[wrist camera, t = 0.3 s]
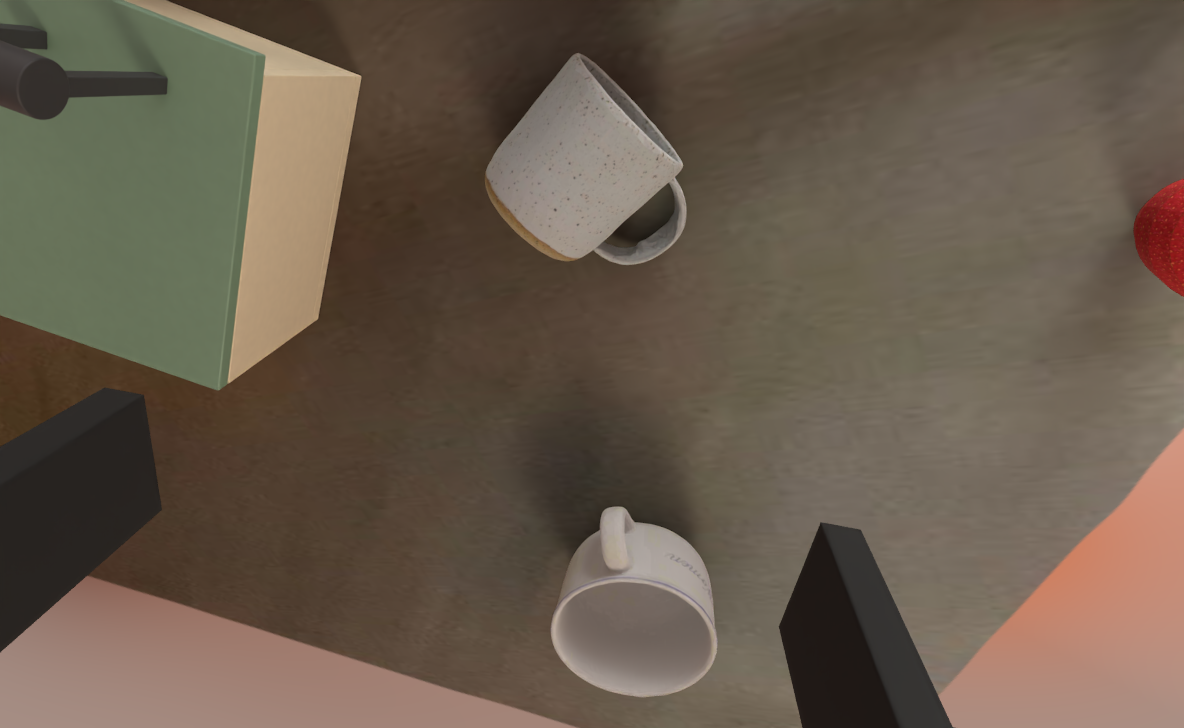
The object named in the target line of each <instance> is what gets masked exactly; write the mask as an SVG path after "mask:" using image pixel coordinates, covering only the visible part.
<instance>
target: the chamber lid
mask: <svg viewBox="0 0 1184 728" xmlns="http://www.w3.org/2000/svg"><path fill="white" fill-rule="evenodd" d="M265 59H266V56H265V55H264V54H262V53H259V52H257V51H254V50H251V49H249V48H246V47H244V46H241V45H238V44H236V43H233V42H231V41H228V40H225V39H223V38H220V37H218V36H215V35H212V34H210V33H207V32H205V31H202V30H199V29H197V28H194V27H192V26H189V25H186V24H184V23H181V22H179V21H176V20H173V19H171V18H168V17H166V16H163V15H161V14H158V13H155V12H153V11H150V10H148V9H145V8H142V7H140V6H137V5H135V4H132V3H129V2H127V1H124V0H0V315H1V316H4V317H7V318H10V319H13V320H16V321H19V322H22V323H24V324H27V325H30V326H33V327H36V328H39V329H42V330H45V331H47V332H50V333H53V334H56V335H59V336H62V337H65V338H68V339H71V340H73V341H76V342H79V343H82V344H85V345H88V346H91V347H94V348H97V349H99V350H102V351H105V352H108V353H111V354H114V355H117V356H120V357H123V358H125V359H128V360H131V361H134V362H137V363H140V364H143V365H146V366H149V367H151V368H154V369H157V370H160V371H163V372H166V373H169V374H172V375H174V376H177V377H180V378H183V379H186V380H189V381H192V382H195V383H198V384H200V385H203V386H206V387H209V388H212V389H215V390H220V389H221V388H223V387H224V386H225V385H227V382H228V373H229V365H230V356H231V348H232V339H233V331H234V322H235V314H236V305H237V297H238V288H239V280H240V271H241V263H242V254H243V246H244V237H245V229H246V220H247V212H248V203H249V195H250V186H251V178H252V169H253V161H254V152H255V144H256V135H257V127H258V118H259V110H260V101H261V93H262V84H263V76H264V67H265Z"/></svg>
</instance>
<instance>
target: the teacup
mask: <svg viewBox="0 0 1184 728" xmlns="http://www.w3.org/2000/svg"><path fill="white" fill-rule="evenodd" d="M551 638H552V642H553V645H554V648H555V650H556V652H557V654H558V655H559V657H560V658H561V660H562V661H563V662H564V663H565V664H566V666H567V667H568V668H569V669H570V670H571V671H573V672H574V673H575V674H576V675H577V676H579V677H580V678H582V679H583V680H585V681H587V682H589V683H590V684H592V685H595V686H597V687H599V688H602V689H605V690H607V691H611V692H615V693H619V694H623V695H632V696H637V697H647V696H658V695H667V694H670V693H674V692H678V691H681V690H683V689H685V688H687V687H689V686H691V685H693V684H694V683H696V682H697V681H698V680H699V679H700V678H702V677H703V676H704V675H705V674H706V672H707V671H708V670H709V669H710V667H711V665H712V664H713V662H714V659H715V657H716V652H717V644H718V643H717V633H716V630H715V627H714V610H713V599H712V591H711V584H710V579H709V576H708V572H707V570H706V567H705V565H704V563H703V561H702V559H701V557H700V556H699V554H698V553H697V551H696V550H695V549H694V548H693V547H692V546H691V545H690V544H689V543H688V542H687V541H686V540H685V539H683V538H682V537H680V536H679V535H677V534H676V533H674V532H672V531H670V530H668V529H666V528H663V527H660V526H656V525H653V524H647V523H639V522H634V521H633V520H632V519H631V517H630V515H629V513H628V511H627V510H626V509H625V508H623V507H610V508H607V509H605V510H604V511H603V512H602V515H601V519H600V530H599V531H597V532H596V533H594V534H592V535H591V536H589V537H588V538H587V539H586V540H585V541H584V542H583V543H582V544H581V545H580V546H579V547H578V549H577V550H576V552H575V553H574V555H573V557H572V559H571V561H570V564H569V566H568V569H567V572H566V575H565V578H564V581H563V585H562V588H561V592H560V596H559V600H558V605H557V607H556V609H555V611H554V613H553V616H552V623H551Z"/></svg>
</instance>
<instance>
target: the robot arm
mask: <svg viewBox="0 0 1184 728" xmlns="http://www.w3.org/2000/svg"><path fill="white" fill-rule="evenodd" d="M161 510H162V508H161V501H160V495H159V489H158V482H157V476H156V469H155V463H154V457H153V450H152V444H151V438H150V431H149V425H148V418H147V412H146V406H145V399H144V395H141V394H136V393H131V392H125V391H120V390H115V389H109V388H103V389H101V390H100V391H98V392H96V393H94V394H93V395H91V396H89V397H87V398H86V399H84V400H82V401H80V402H78V403H77V404H75V405H73V406H71V407H70V408H68V409H66V410H64V411H63V412H61V413H59V414H57V415H56V416H54V417H52V418H50V419H49V420H47V421H45V422H43V423H41V424H40V425H38V426H36V427H34V428H33V429H31V430H29V431H27V432H26V433H24V434H22V435H20V436H19V437H17V438H15V439H13V440H11V441H10V442H8V443H6V444H4V445H3V446H1V447H0V652H1V651H2V650H3V649H4V648H6V647H7V646H8V645H9V644H10V643H11V642H12V641H14V640H15V639H16V638H17V637H18V636H19V635H20V634H22V633H23V632H24V631H25V630H26V629H27V628H28V627H29V626H31V625H32V624H33V623H34V622H35V621H36V620H37V619H39V618H40V617H41V616H42V615H43V614H44V613H45V612H46V611H48V610H49V609H50V608H51V607H52V606H53V605H54V604H55V603H56V602H58V601H59V600H60V599H61V598H62V597H63V596H65V595H66V594H67V593H68V592H69V591H70V590H71V589H72V588H74V587H75V586H76V585H77V584H78V583H79V582H80V581H82V580H83V579H84V578H85V577H86V576H87V575H88V574H90V573H91V572H92V571H93V570H94V569H95V568H96V567H97V566H99V565H100V564H101V563H102V562H103V561H104V560H105V559H107V558H108V557H109V556H110V555H111V554H112V553H113V552H114V551H116V550H117V549H118V548H119V547H120V546H121V545H122V544H124V543H125V542H126V541H127V540H128V539H129V538H130V537H131V536H133V535H134V534H135V533H136V532H137V531H138V530H139V529H140V528H142V527H143V526H144V525H145V524H146V523H147V522H148V521H150V520H151V519H152V518H153V517H154V516H155V515H156V514H157V513H159V512H160V511H161ZM779 629H780V633H781V637H782V642H783V646H784V650H785V655H786V659H787V663H788V667H789V672H790V676H791V680H792V684H793V689H794V693H795V697H796V702H797V706H798V710H799V714H800V719H801V723H802V727H803V728H954V727H952V725H951V723H950V721H949V718H948V716H947V714H946V712H945V710H944V708H943V706H942V704H941V701H940V699H939V697H938V695H937V693H936V690H935V688H934V686H933V684H932V682H931V680H930V678H929V675H928V673H927V671H926V669H925V667H924V665H923V663H922V660H921V658H920V656H919V654H918V652H917V650H916V647H915V645H914V643H913V641H912V639H911V637H910V635H909V632H908V630H907V628H906V626H905V624H904V622H903V620H902V617H901V615H900V613H899V611H898V609H897V607H896V604H895V602H894V600H893V598H892V596H891V594H890V592H889V589H888V587H887V585H886V583H885V581H884V579H883V577H882V574H881V572H880V570H879V568H878V566H877V564H876V561H875V559H874V557H873V555H872V553H871V551H870V549H869V546H868V544H867V542H866V540H865V538H864V536H863V534H862V531H861V530H859V529H854V528H848V527H843V526H838V525H832V524H827V523H822V522H821V523H820V526H819V528H818V531H817V533H816V536H815V538H814V541H813V543H812V546H811V548H810V551H809V553H808V556H807V558H806V561H805V563H804V566H803V568H802V571H801V573H800V576H799V578H798V581H797V583H796V586H795V588H794V591H793V593H792V596H791V598H790V600H789V603H788V605H787V608H786V610H785V613H784V615H783V618H782V620H781V623H780V625H779Z"/></svg>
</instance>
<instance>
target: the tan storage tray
mask: <svg viewBox="0 0 1184 728" xmlns="http://www.w3.org/2000/svg"><path fill="white" fill-rule="evenodd" d="M124 1H127V2H129V3H132V4H135V5H137V6H140V7H142V8H145V9H148V10H150V11H153V12H155V13H158V14H161V15H163V16H166V17H168V18H171V19H173V20H176V21H179V22H181V23H184V24H186V25H189V26H192V27H194V28H197V29H199V30H202V31H205V32H207V33H210V34H212V35H215V36H218V37H220V38H223V39H225V40H228V41H231V42H233V43H236V44H238V45H241V46H244V47H246V48H249V49H251V50H254V51H257V52H259V53H262V54H264V55H265V56H266V59H265V67H264V76H263V84H262V93H261V101H260V110H259V118H258V127H257V135H256V144H255V152H254V161H253V169H252V178H251V186H250V195H249V203H248V212H247V220H246V229H245V237H244V246H243V254H242V263H241V271H240V280H239V288H238V297H237V305H236V314H235V322H234V331H233V339H232V348H231V356H230V365H229V373H228V382H227V383H230V382H231V381H233V380H234V379H235V378H237V377H238V376H240V375H241V374H242V373H244V372H245V371H247V370H248V369H249V368H251V367H252V366H253V365H255V364H256V363H258V362H259V361H260V360H262V359H263V358H265V357H266V356H267V355H269V354H270V353H272V352H273V351H274V350H276V349H277V348H278V347H280V346H281V345H283V344H284V343H285V342H287V341H288V340H290V339H291V338H292V337H294V336H295V335H296V334H298V333H299V332H301V331H302V330H303V329H305V328H306V327H308V326H309V325H310V324H312V323H313V322H314V321H316V320H317V319H318V316H319V310H320V305H321V299H322V294H323V288H324V283H325V277H326V272H327V266H328V260H329V255H330V249H331V244H332V238H333V233H334V227H335V222H336V216H337V210H338V205H339V199H340V194H341V188H342V183H343V177H344V172H345V166H346V160H347V155H348V149H349V144H350V138H351V133H352V127H353V122H354V116H355V110H356V105H357V99H358V94H359V88H360V83H361V76H360V75H357V74H355V73H352V72H350V71H347V70H345V69H342V68H339V67H337V66H334V65H332V64H329V63H327V62H324V61H321V60H319V59H316V58H314V57H311V56H308V55H306V54H303V53H301V52H298V51H296V50H293V49H290V48H288V47H285V46H283V45H280V44H277V43H275V42H272V41H270V40H267V39H265V38H262V37H259V36H257V35H254V34H252V33H249V32H246V31H244V30H241V29H239V28H236V27H234V26H231V25H228V24H226V23H223V22H221V21H218V20H215V19H213V18H210V17H208V16H205V15H203V14H200V13H197V12H195V11H192V10H190V9H187V8H184V7H182V6H179V5H177V4H174V3H172V2H169V1H166V0H124Z"/></svg>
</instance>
